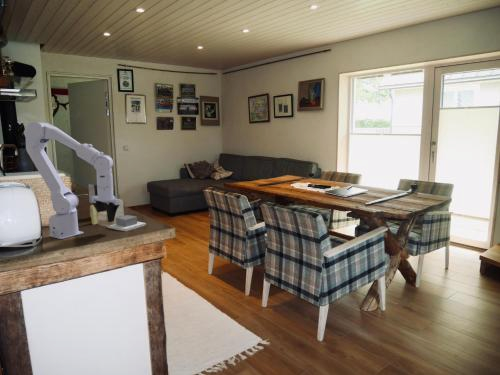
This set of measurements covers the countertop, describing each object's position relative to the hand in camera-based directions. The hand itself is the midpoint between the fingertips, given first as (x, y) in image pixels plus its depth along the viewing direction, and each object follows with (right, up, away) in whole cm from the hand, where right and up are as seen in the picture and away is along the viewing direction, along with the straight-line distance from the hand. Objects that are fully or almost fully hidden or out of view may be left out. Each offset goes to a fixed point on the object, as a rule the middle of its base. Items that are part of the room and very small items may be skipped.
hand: (107, 220), depth 140 cm
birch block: (0, -2, 0) cm, 2 cm away
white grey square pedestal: (+4, -4, +11) cm, 12 cm away
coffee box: (-13, -1, +28) cm, 32 cm away
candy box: (-8, -2, +22) cm, 23 cm away
